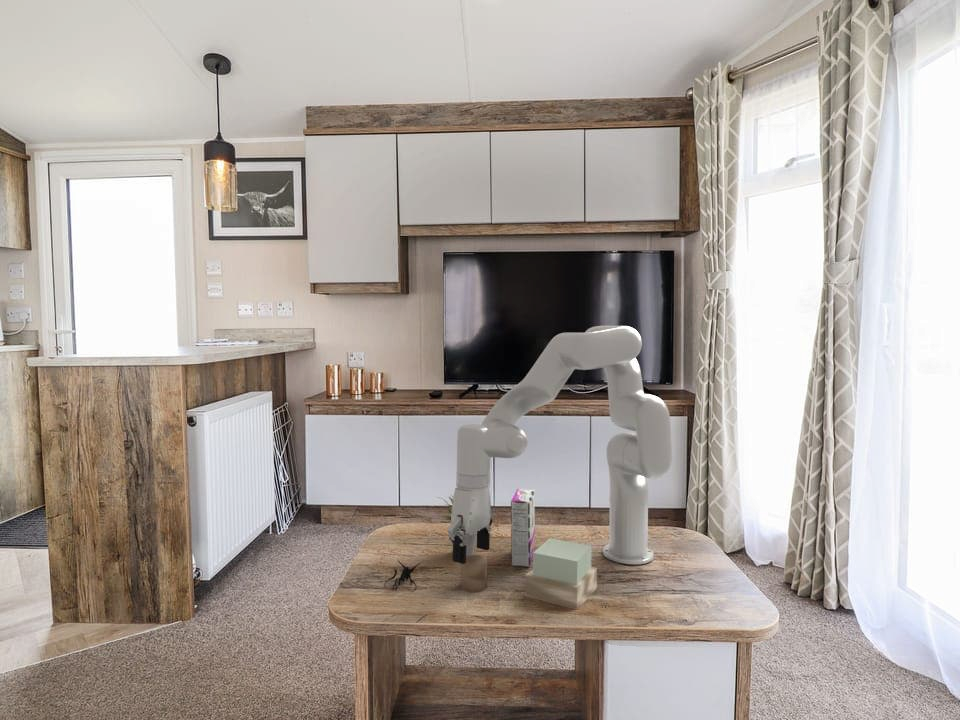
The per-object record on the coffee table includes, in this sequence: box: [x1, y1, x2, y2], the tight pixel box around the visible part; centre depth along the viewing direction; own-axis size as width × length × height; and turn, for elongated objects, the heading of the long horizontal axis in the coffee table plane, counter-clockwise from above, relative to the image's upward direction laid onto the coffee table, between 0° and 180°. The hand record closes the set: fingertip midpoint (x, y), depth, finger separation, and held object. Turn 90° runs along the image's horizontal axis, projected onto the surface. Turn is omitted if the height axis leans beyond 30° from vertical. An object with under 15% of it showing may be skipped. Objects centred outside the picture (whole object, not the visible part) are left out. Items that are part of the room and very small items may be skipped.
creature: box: [383, 559, 421, 593], centre depth 130 cm, size 8×5×8 cm
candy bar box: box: [510, 488, 536, 568], centre depth 146 cm, size 11×5×16 cm, turn 168°
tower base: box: [524, 565, 598, 610], centre depth 127 cm, size 12×12×5 cm
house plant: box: [437, 494, 477, 556], centre depth 148 cm, size 14×14×16 cm
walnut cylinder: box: [460, 554, 488, 593], centre depth 130 cm, size 6×6×6 cm
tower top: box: [532, 537, 592, 585], centre depth 127 cm, size 10×10×5 cm
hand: (471, 555), depth 130 cm, fingers open, 9 cm apart
